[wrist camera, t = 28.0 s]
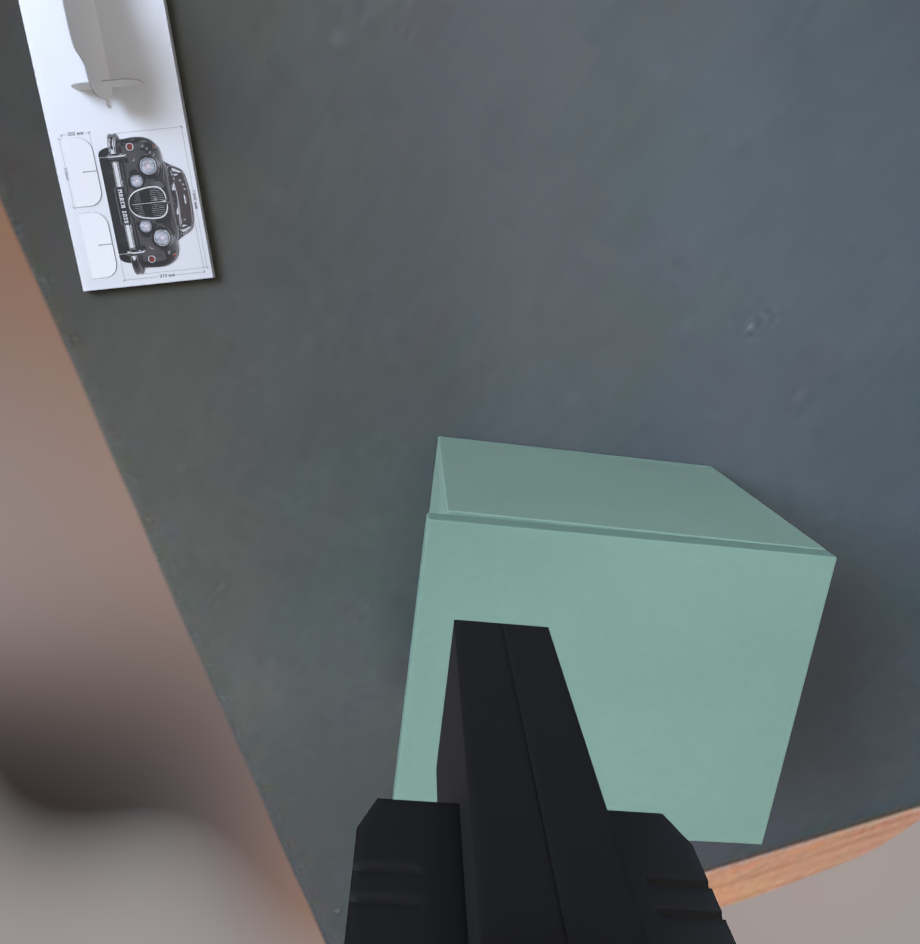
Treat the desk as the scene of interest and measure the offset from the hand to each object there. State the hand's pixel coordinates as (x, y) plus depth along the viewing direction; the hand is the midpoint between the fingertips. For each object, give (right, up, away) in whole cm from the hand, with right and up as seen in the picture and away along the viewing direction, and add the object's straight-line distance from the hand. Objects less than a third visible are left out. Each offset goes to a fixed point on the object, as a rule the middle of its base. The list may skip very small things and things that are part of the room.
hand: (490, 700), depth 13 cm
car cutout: (-17, +21, +27) cm, 38 cm away
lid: (+6, -5, +21) cm, 22 cm away
